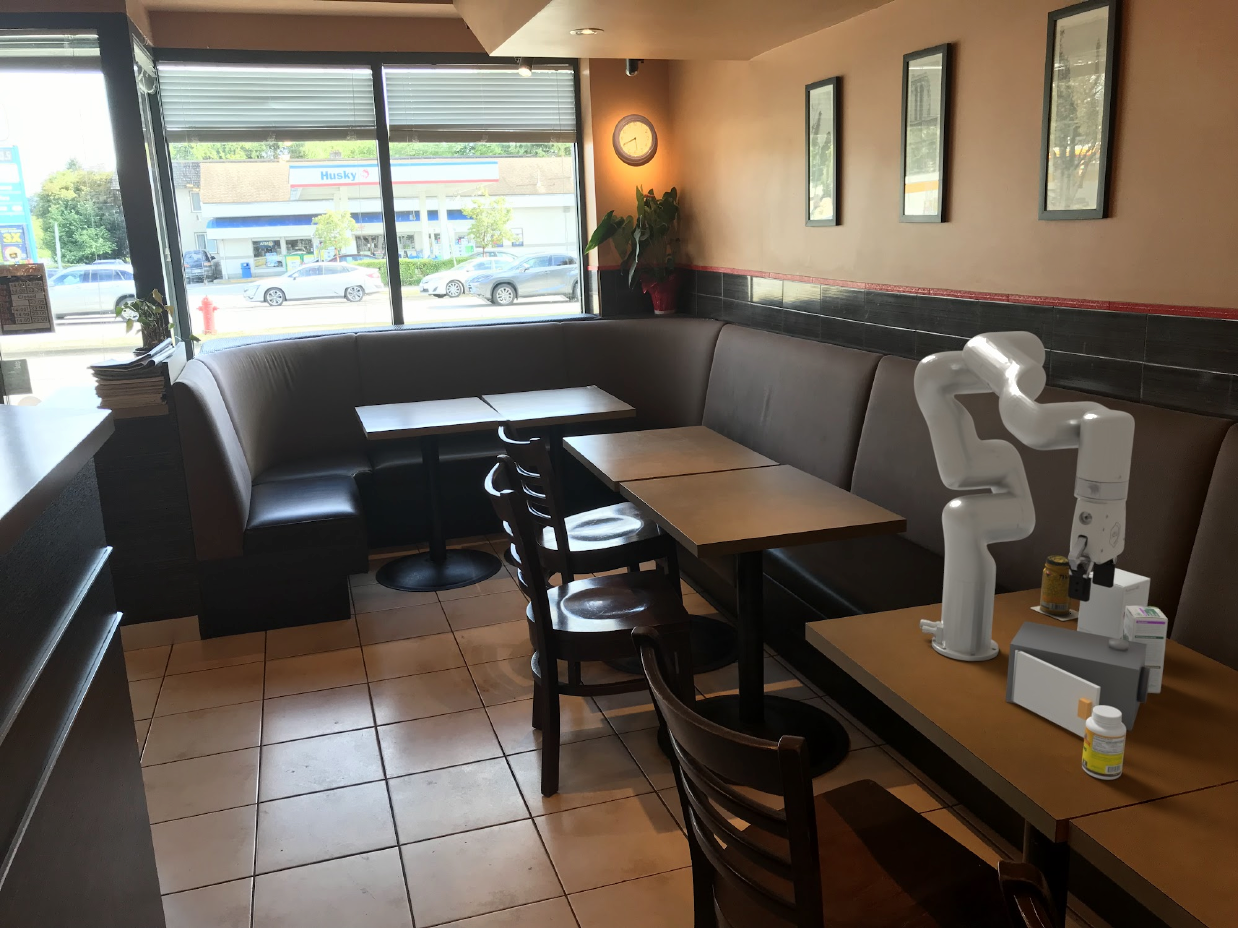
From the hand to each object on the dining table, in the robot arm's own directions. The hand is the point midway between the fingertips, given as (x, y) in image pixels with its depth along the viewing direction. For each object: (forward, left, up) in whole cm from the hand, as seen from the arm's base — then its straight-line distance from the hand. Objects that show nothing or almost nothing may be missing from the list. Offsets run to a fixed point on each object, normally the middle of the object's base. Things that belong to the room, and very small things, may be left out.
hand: (1090, 591), depth 157 cm
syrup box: (+7, +22, -24) cm, 34 cm away
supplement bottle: (+5, -13, -24) cm, 28 cm away
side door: (-4, -1, -23) cm, 24 cm away
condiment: (-12, +52, -24) cm, 59 cm away
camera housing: (-2, +9, -24) cm, 26 cm away
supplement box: (0, +38, -24) cm, 45 cm away
